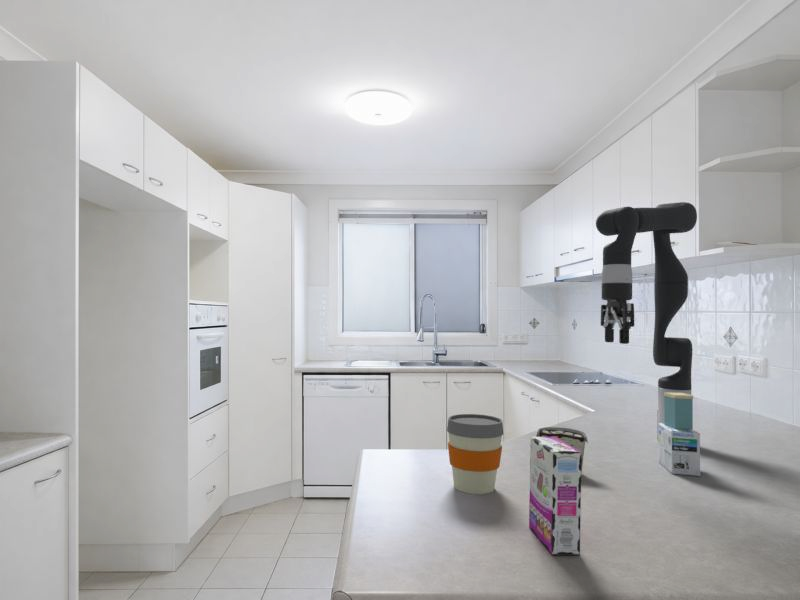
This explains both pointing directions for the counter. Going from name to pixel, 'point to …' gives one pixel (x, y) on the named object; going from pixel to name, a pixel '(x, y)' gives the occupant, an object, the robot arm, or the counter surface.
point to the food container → (566, 437)
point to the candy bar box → (555, 495)
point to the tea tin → (678, 410)
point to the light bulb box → (679, 450)
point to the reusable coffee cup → (474, 451)
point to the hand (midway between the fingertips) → (616, 342)
